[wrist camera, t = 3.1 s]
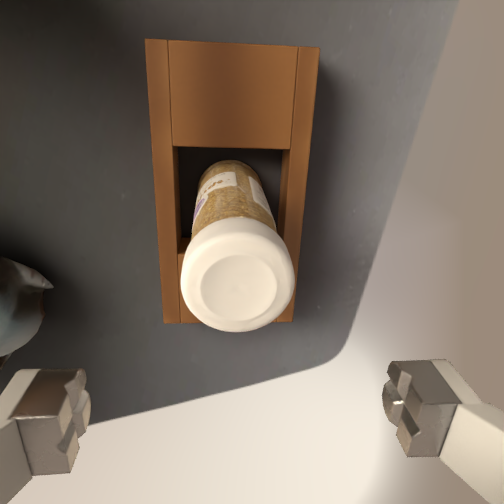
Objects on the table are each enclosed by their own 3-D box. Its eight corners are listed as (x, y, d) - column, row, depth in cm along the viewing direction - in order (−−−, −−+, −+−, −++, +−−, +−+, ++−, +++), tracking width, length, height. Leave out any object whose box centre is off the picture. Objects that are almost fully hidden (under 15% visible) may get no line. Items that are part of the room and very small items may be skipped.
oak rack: (309, 50, 24) (320, 47, 21) (286, 300, 31) (292, 322, 29) (153, 42, 23) (144, 38, 20) (168, 301, 30) (163, 323, 28)
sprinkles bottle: (199, 155, 26) (181, 229, 14) (266, 162, 26) (307, 239, 14) (195, 219, 28) (176, 334, 16) (258, 224, 28) (287, 340, 16)
